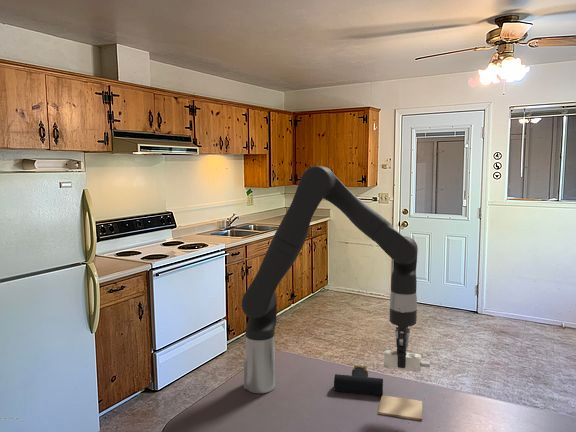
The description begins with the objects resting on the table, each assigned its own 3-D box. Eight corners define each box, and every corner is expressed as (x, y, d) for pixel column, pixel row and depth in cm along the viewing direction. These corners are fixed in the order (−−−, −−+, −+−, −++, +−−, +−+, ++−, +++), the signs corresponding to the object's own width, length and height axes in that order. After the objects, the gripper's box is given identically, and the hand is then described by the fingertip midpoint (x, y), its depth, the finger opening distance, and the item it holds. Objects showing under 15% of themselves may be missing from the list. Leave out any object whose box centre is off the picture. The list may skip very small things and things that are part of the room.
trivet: (378, 413, 129) (378, 411, 128) (381, 397, 138) (381, 395, 138) (421, 420, 125) (421, 418, 125) (422, 402, 134) (422, 401, 134)
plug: (382, 367, 130) (383, 354, 130) (384, 362, 133) (384, 349, 133) (429, 373, 126) (429, 360, 126) (429, 368, 130) (429, 355, 129)
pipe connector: (337, 362, 151) (383, 366, 148) (337, 376, 152) (383, 381, 149) (333, 378, 140) (382, 382, 137) (333, 394, 141) (382, 399, 138)
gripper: (391, 298, 136) (390, 353, 138) (387, 313, 123) (386, 373, 125) (417, 300, 134) (416, 356, 136) (416, 315, 120) (414, 377, 122)
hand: (401, 364), depth 130 cm, fingers closed on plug, 3 cm apart
